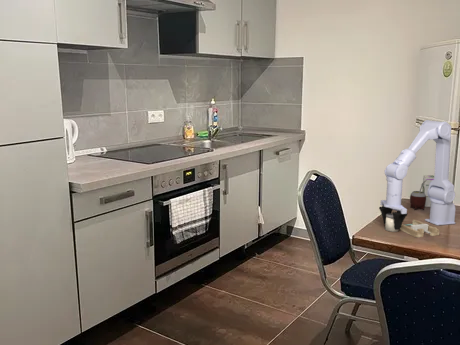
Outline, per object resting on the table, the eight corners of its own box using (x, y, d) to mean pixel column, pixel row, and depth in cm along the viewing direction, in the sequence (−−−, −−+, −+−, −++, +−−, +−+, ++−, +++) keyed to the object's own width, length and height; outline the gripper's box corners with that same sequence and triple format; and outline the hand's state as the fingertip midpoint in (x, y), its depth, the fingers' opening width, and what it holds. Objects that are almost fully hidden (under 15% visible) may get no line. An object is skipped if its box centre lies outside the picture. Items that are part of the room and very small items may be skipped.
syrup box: (436, 207, 220) (438, 177, 217) (423, 206, 221) (425, 177, 218) (433, 204, 225) (435, 175, 223) (420, 203, 226) (423, 174, 224)
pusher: (425, 230, 184) (426, 223, 183) (437, 235, 177) (437, 228, 177) (410, 232, 182) (410, 225, 181) (421, 237, 176) (421, 230, 175)
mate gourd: (412, 206, 222) (414, 175, 219) (429, 208, 217) (431, 177, 214) (406, 209, 217) (409, 178, 214) (424, 212, 212) (426, 180, 209)
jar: (390, 226, 189) (392, 212, 188) (401, 230, 184) (403, 215, 183) (381, 228, 186) (383, 214, 185) (392, 232, 182) (394, 217, 180)
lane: (413, 224, 193) (414, 217, 192) (439, 235, 179) (439, 227, 178) (392, 226, 190) (392, 219, 190) (416, 237, 176) (416, 230, 175)
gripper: (374, 190, 188) (372, 222, 191) (396, 198, 175) (394, 232, 177) (389, 189, 190) (387, 220, 193) (412, 197, 176) (409, 231, 179)
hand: (391, 226), depth 185 cm, fingers open, 7 cm apart
